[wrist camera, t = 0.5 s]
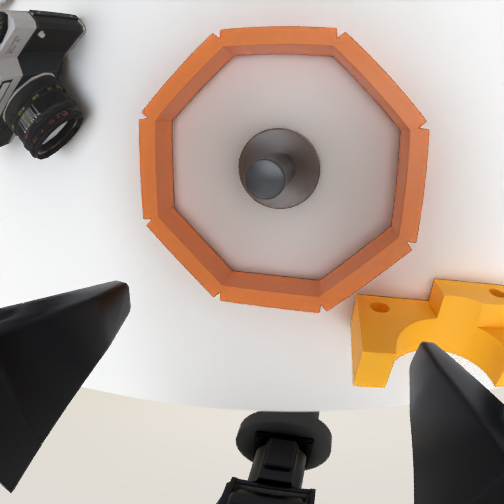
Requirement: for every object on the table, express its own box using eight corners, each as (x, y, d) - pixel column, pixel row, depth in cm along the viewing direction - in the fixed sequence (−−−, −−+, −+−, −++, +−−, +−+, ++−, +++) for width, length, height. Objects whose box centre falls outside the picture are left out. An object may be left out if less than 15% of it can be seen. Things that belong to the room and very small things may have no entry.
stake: (317, 209, 20) (314, 235, 15) (241, 203, 21) (214, 226, 16) (321, 130, 18) (320, 129, 13) (241, 127, 19) (213, 126, 14)
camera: (42, 188, 26) (-27, 235, 18) (-8, 118, 23) (-80, 146, 14) (132, 75, 21) (48, 84, 12) (66, 2, 17) (-18, -7, 8)
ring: (393, 302, 21) (398, 320, 19) (165, 276, 25) (150, 289, 22) (418, 50, 15) (429, 41, 13) (158, 48, 18) (141, 41, 16)
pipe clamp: (503, 285, 18) (542, 331, 13) (486, 333, 20) (515, 385, 14) (360, 271, 21) (369, 324, 15) (350, 324, 22) (353, 385, 17)
